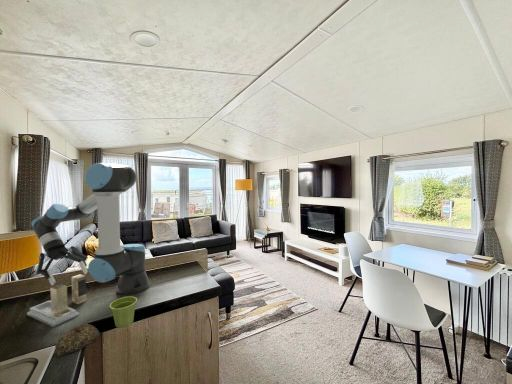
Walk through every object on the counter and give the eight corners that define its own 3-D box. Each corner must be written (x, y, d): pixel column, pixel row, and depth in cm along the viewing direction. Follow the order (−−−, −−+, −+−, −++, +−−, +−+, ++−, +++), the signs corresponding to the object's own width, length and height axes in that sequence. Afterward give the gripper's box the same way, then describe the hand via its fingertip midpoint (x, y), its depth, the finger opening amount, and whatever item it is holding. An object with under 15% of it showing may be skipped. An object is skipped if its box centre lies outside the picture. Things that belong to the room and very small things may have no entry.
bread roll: (101, 342, 79) (100, 329, 79) (54, 361, 71) (53, 345, 71) (96, 325, 89) (96, 313, 89) (54, 340, 81) (54, 326, 81)
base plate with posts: (26, 315, 96) (25, 284, 95) (52, 304, 104) (51, 276, 103) (53, 326, 88) (51, 293, 87) (79, 314, 96) (78, 284, 95)
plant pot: (107, 334, 83) (107, 311, 83) (112, 320, 92) (111, 299, 92) (136, 327, 87) (136, 305, 87) (138, 314, 96) (138, 294, 95)
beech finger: (72, 302, 106) (71, 277, 105) (80, 298, 109) (79, 274, 109) (78, 304, 104) (77, 278, 103) (86, 300, 107) (86, 275, 107)
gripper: (77, 242, 126) (95, 272, 121) (16, 255, 103) (34, 293, 98) (82, 233, 124) (101, 264, 118) (21, 244, 101) (40, 284, 96)
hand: (71, 277), depth 108 cm, fingers open, 13 cm apart
